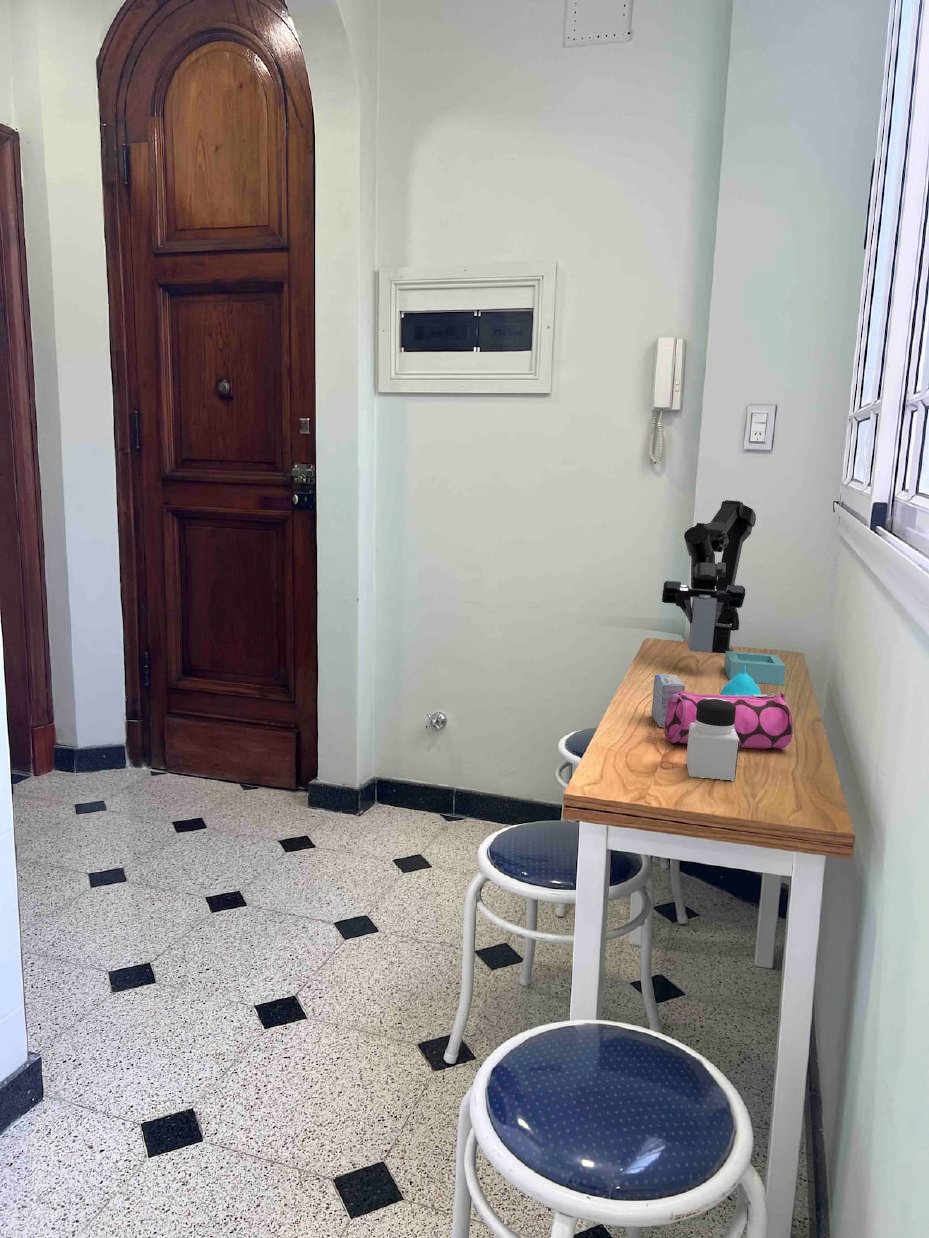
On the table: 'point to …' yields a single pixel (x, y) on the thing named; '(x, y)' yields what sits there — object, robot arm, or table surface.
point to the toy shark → (741, 685)
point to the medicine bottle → (713, 741)
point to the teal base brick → (755, 666)
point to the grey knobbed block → (702, 623)
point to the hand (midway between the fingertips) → (702, 623)
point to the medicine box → (664, 695)
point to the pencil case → (736, 719)
